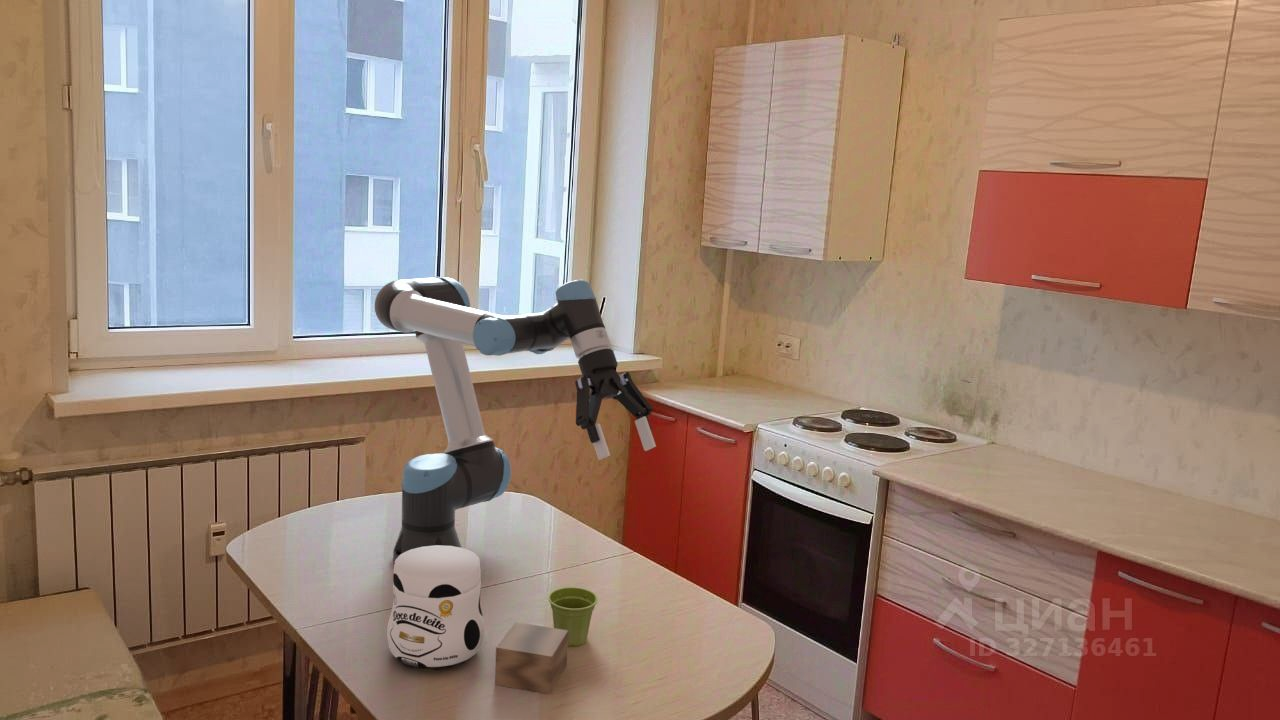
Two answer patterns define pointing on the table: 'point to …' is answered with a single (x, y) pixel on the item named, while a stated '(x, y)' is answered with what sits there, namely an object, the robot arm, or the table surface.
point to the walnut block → (531, 657)
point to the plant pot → (573, 612)
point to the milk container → (436, 607)
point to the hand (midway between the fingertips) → (628, 453)
